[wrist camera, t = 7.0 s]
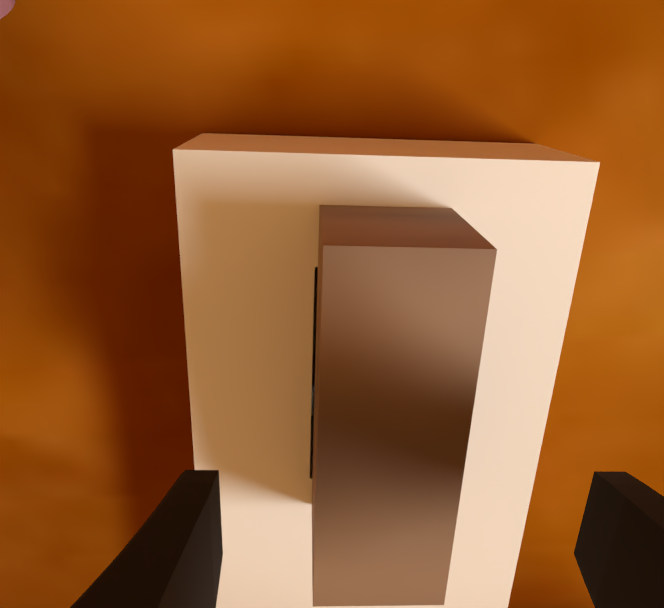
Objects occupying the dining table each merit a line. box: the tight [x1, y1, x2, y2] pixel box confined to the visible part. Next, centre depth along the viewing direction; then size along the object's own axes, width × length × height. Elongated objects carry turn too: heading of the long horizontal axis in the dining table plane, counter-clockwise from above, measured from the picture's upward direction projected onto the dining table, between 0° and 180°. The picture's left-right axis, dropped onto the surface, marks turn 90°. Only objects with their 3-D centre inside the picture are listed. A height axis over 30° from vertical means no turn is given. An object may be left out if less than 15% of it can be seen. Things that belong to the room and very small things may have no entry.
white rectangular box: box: [173, 133, 600, 608], centre depth 18 cm, size 18×10×4 cm, turn 178°
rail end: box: [312, 205, 497, 607], centre depth 15 cm, size 9×3×6 cm, turn 178°
